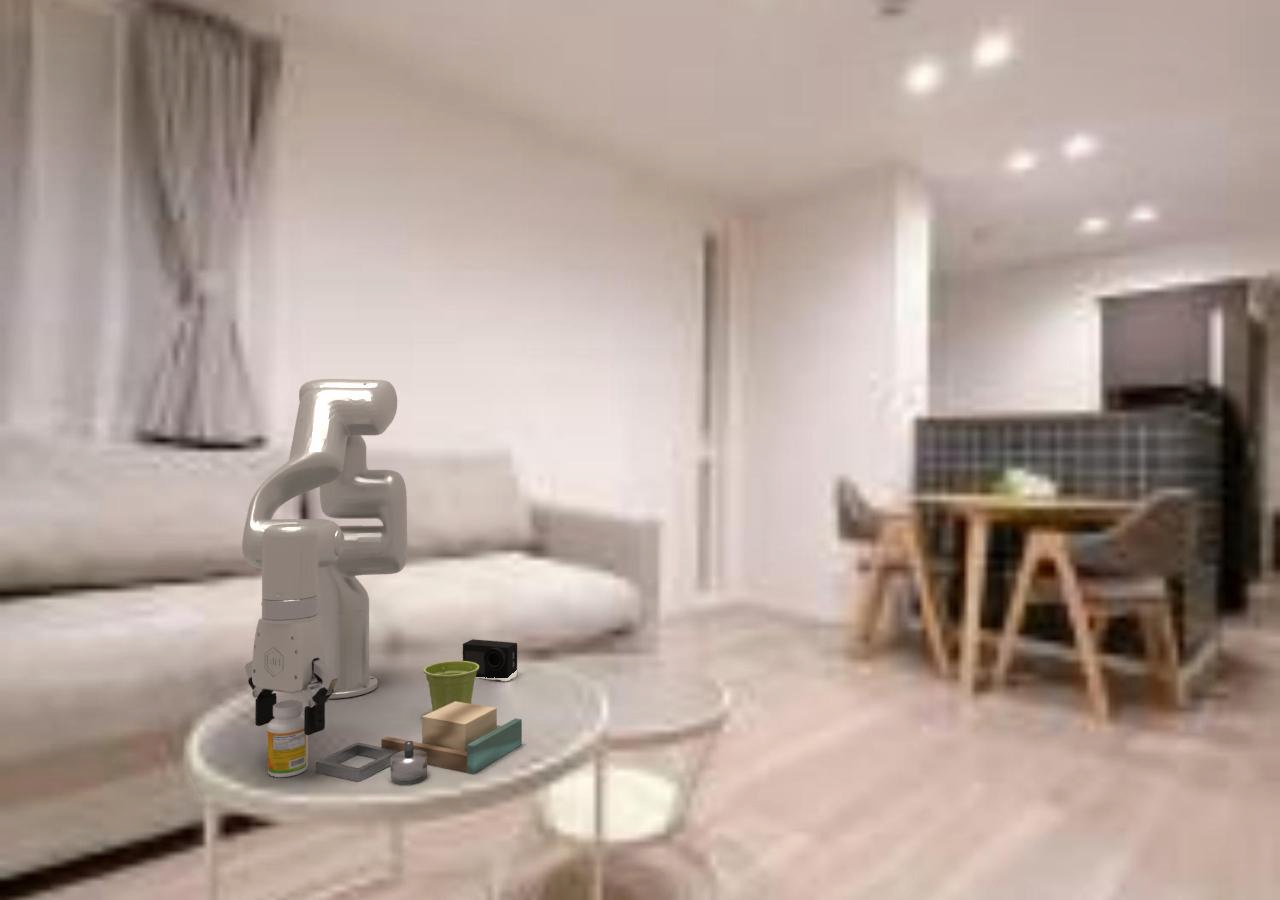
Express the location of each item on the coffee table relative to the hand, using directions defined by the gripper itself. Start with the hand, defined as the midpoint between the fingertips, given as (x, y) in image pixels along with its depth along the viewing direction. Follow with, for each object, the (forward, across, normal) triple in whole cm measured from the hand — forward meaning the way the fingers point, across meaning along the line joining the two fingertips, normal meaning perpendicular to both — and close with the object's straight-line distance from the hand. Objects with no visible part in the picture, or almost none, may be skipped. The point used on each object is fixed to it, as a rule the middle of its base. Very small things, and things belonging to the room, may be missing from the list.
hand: (289, 727), depth 115 cm
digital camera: (+6, -2, +51) cm, 51 cm away
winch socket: (+6, +12, +6) cm, 14 cm away
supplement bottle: (+6, 0, 0) cm, 7 cm away
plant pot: (+6, +7, +29) cm, 30 cm away
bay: (+6, +16, +17) cm, 24 cm away
